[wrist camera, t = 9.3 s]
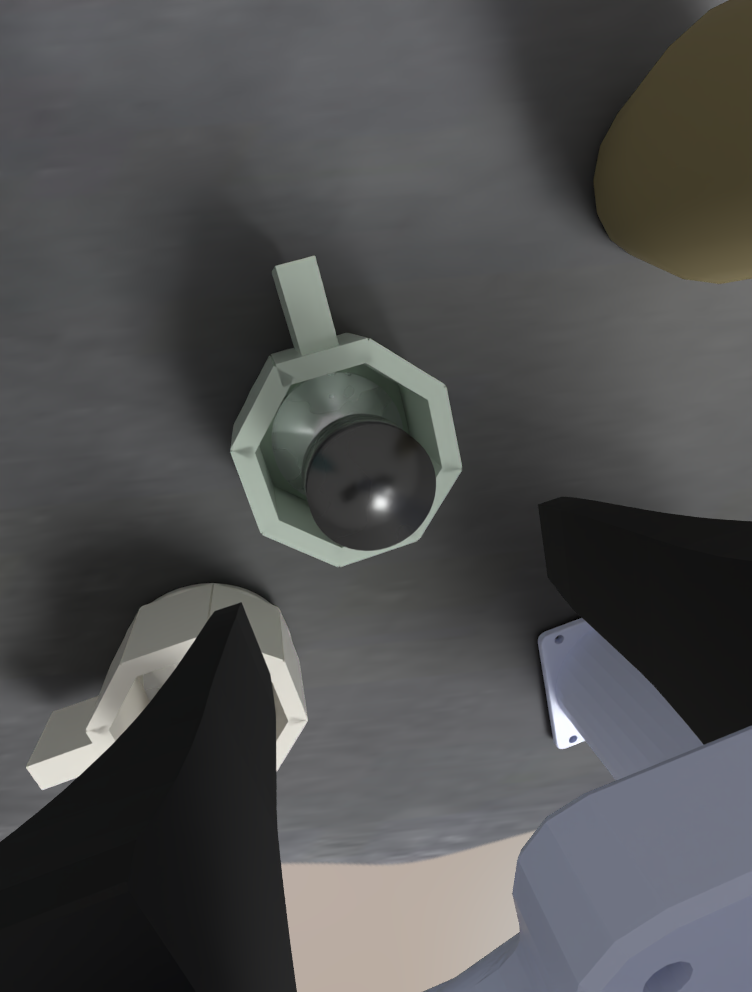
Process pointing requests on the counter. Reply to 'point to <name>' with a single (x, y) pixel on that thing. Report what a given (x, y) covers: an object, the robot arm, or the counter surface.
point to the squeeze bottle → (686, 155)
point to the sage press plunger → (353, 461)
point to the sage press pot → (318, 355)
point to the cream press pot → (154, 645)
